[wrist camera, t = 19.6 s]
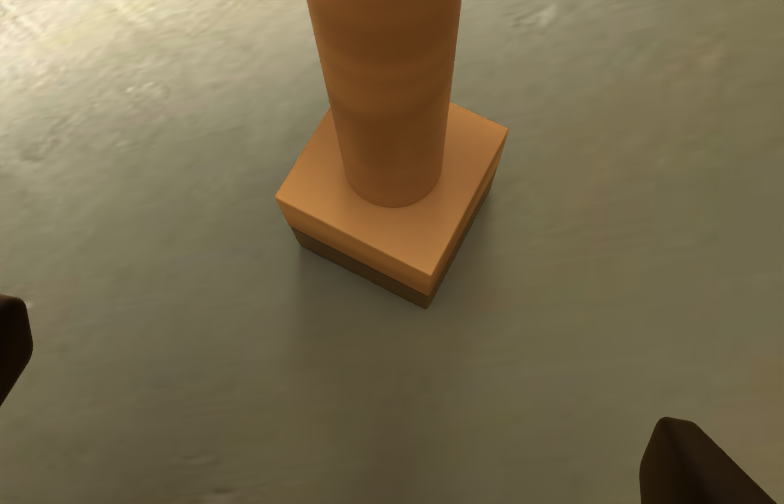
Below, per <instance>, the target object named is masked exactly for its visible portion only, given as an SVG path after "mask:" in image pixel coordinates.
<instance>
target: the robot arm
mask: <svg viewBox="0 0 784 504" xmlns="http://www.w3.org/2000/svg"><path fill="white" fill-rule="evenodd" d="M32 351H33V340H32V335H31V329H30V324H29V318H28V313H27V308H26V305H25V303H24V302H23V300H21V299H20V298H17V297H12V296H7V295H2V294H0V406H1V405H2V403H3V402H4V400H5V398H6V397H7V395H8V394H9V392H10V391H11V389H12V387H13V386H14V384H15V383H16V381H17V380H18V378H19V376H20V375H21V373H22V372H23V370H24V369H25V367H26V365H27V364H28V362H29V360H30V358H31V355H32ZM639 480H640V493H641V504H777V503H776V502H775V501H774V500H773V499H772V498H771V497H770V496H769V495H767V494H766V493H765V492H764V491H763V490H762V489H761V488H760V487H759V486H758V485H757V484H756V483H755V482H754V481H753V480H752V479H751V478H750V477H749V476H748V475H747V474H746V473H745V472H744V471H743V470H742V469H741V468H740V467H739V466H738V465H737V464H736V463H735V462H734V461H733V460H732V459H731V458H730V457H729V456H728V455H727V454H726V453H725V452H724V451H723V450H722V449H721V448H720V447H719V446H718V445H717V444H716V443H715V442H714V441H713V440H712V439H711V438H710V437H709V436H708V435H706V434H705V433H704V432H703V431H702V430H701V429H700V428H699V427H698V426H697V425H696V424H695V423H693V422H691V421H687V420H681V419H676V418H670V417H663V418H661V419H660V420H659V421H658V422H657V424H656V426H655V428H654V431H653V433H652V436H651V438H650V441H649V443H648V446H647V448H646V450H645V453H644V455H643V458H642V461H641V465H640V473H639Z"/></svg>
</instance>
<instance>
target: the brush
mask: <svg viewBox="0 0 784 504" xmlns="http://www.w3.org/2000/svg"><path fill="white" fill-rule="evenodd" d="M307 4H308V8H309V13H310V17H311V22H312V26H313V31H314V35H315V40H316V44H317V49H318V53H319V58H320V62H321V66H322V71H323V75H324V80H325V84H326V89H327V93H328V98H329V102H330V108H329V110H328V111H327V113H326V115H325V116H324V118H323V119H322V121H321V123H320V124H319V126H318V128H317V129H316V131H315V132H314V134H313V136H312V137H311V139H310V141H309V142H308V144H307V145H306V147H305V149H304V150H303V152H302V153H301V155H300V157H299V158H298V160H297V162H296V163H295V165H294V166H293V168H292V170H291V171H290V173H289V175H288V176H287V178H286V179H285V181H284V183H283V184H282V186H281V187H280V189H279V191H278V192H277V194H276V196H275V199H276V201H277V203H278V205H279V207H280V209H281V210H282V212H283V214H284V216H285V218H286V220H287V222H288V224H289V226H291V229H292V230H293V232H294V234H295V236H296V238H297V240H298V242H299V244H300V245H301V246H303V247H305V248H307V249H309V250H311V251H313V252H315V253H317V254H319V255H321V256H323V257H325V258H327V259H329V260H330V261H332V262H334V263H336V264H338V265H340V266H342V267H344V268H346V269H348V270H350V271H352V272H354V273H356V274H358V275H360V276H362V277H364V278H366V279H368V280H370V281H372V282H373V283H375V284H377V285H379V286H381V287H383V288H385V289H387V290H389V291H391V292H393V293H395V294H397V295H399V296H401V297H403V298H405V299H407V300H409V301H411V302H413V303H415V304H416V305H418V306H420V307H422V308H424V309H427V308H428V307H429V305H430V303H431V301H432V299H433V297H434V295H435V293H436V292H437V290H438V288H439V286H440V284H441V282H442V280H443V278H444V276H445V274H446V272H447V271H448V269H449V267H450V265H451V263H452V261H453V259H454V257H455V255H456V253H457V251H458V250H459V248H460V246H461V244H462V242H463V240H464V238H465V236H466V234H467V232H468V230H469V229H470V227H471V225H472V223H473V221H474V219H475V217H476V215H477V213H478V211H479V209H480V208H481V206H482V204H483V202H484V200H485V198H486V196H487V194H488V192H489V190H490V188H491V185H492V182H493V178H494V175H495V172H496V169H497V166H498V163H499V160H500V157H501V153H502V150H503V147H504V144H505V141H506V137H507V134H508V131H509V129H508V128H506V127H504V126H501V125H499V124H497V123H495V122H493V121H490V120H488V119H486V118H484V117H482V116H479V115H477V114H475V113H473V112H471V111H468V110H466V109H464V108H462V107H460V106H457V105H455V104H453V103H451V102H450V93H451V85H452V77H453V68H454V60H455V51H456V43H457V34H458V26H459V17H460V9H461V0H307Z"/></svg>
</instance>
